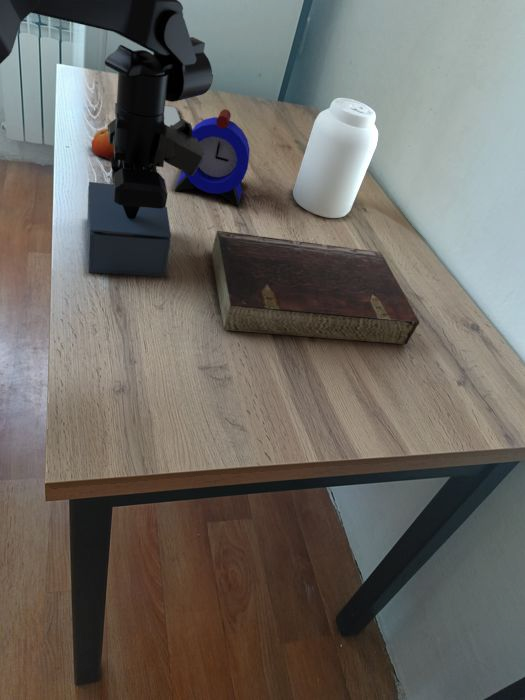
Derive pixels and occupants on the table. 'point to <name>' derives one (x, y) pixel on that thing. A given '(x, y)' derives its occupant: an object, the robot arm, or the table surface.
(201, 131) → the alarm clock
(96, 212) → the box lid
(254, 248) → the hardback book
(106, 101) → the table surface
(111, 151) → the pumpkin
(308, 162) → the white plastic bottle
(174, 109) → the smartphone
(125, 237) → the carton
